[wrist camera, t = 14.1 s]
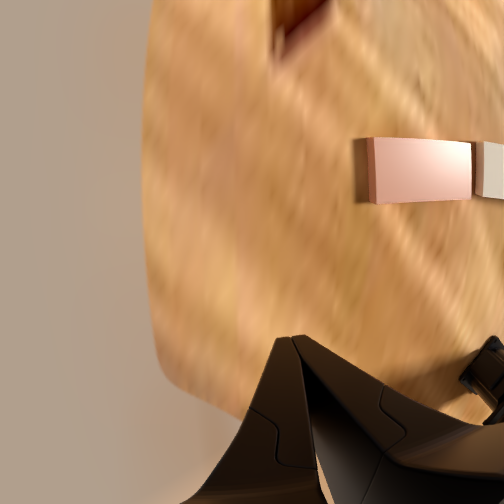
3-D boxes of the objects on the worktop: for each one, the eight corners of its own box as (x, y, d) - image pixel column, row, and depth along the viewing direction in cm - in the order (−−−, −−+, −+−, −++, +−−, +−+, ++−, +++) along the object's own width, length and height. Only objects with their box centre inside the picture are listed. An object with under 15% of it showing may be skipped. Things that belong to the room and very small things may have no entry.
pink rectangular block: (363, 138, 20) (458, 142, 20) (366, 200, 21) (459, 195, 21) (373, 137, 18) (470, 143, 19) (376, 204, 19) (471, 199, 20)
